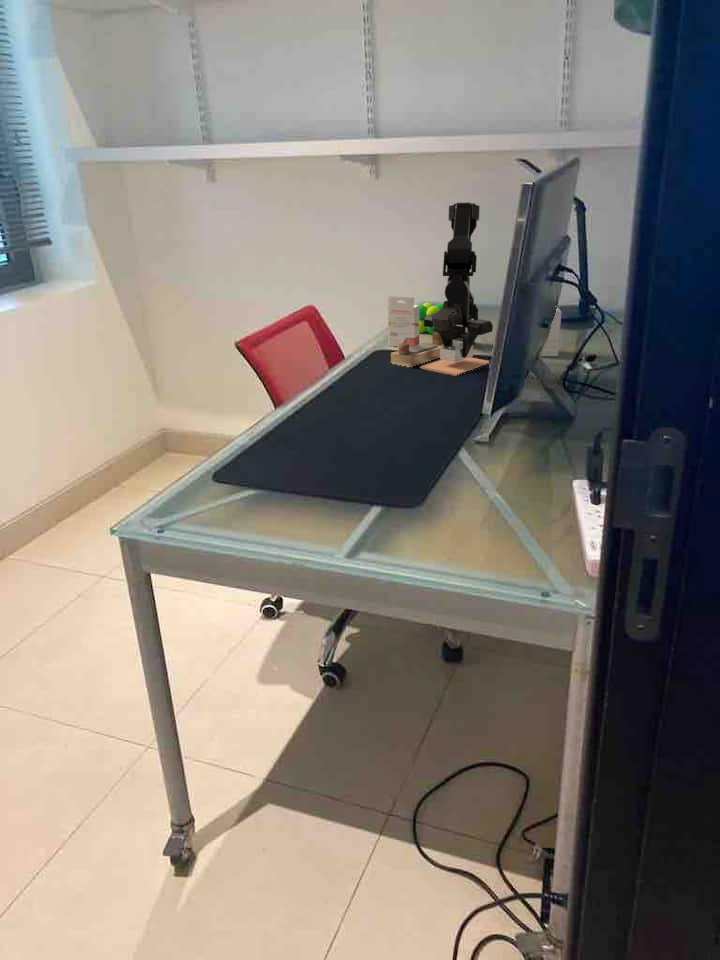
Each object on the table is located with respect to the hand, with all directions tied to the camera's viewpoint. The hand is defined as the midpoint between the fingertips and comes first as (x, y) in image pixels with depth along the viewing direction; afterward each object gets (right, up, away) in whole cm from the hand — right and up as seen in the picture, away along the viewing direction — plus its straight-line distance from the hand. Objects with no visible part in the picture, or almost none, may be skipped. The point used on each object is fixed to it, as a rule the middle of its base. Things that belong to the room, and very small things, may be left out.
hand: (456, 355), depth 204 cm
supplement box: (+26, +2, +11) cm, 28 cm away
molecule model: (-3, +14, +41) cm, 43 cm away
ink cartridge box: (-13, +7, +25) cm, 29 cm away
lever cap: (0, 0, 0) cm, 1 cm away
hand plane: (-9, +1, +9) cm, 12 cm away
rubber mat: (0, -3, +1) cm, 3 cm away
